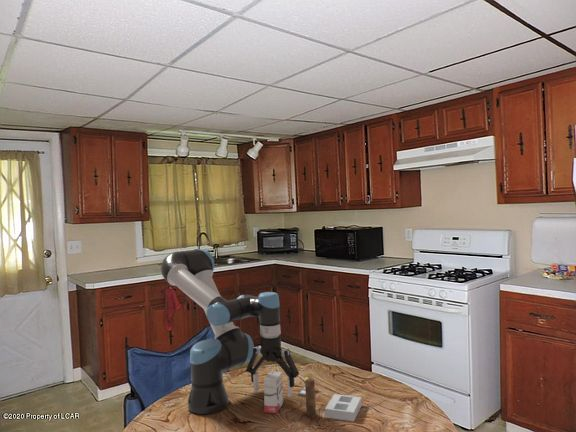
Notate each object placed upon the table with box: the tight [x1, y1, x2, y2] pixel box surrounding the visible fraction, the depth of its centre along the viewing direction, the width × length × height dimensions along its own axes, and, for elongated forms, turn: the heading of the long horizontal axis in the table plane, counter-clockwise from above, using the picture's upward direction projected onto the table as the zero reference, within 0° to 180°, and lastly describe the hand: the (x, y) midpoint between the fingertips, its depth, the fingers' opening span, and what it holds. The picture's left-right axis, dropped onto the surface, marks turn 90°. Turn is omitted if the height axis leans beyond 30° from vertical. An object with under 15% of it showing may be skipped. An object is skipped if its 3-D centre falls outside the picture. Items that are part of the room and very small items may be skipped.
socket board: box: [324, 393, 363, 422], centre depth 146 cm, size 10×12×3 cm
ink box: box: [263, 370, 284, 414], centre depth 151 cm, size 9×5×12 cm, turn 165°
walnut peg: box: [304, 378, 317, 419], centre depth 144 cm, size 3×3×12 cm
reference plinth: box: [297, 376, 310, 397], centre depth 164 cm, size 4×8×5 cm, turn 158°
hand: (273, 393), depth 151 cm, fingers open, 13 cm apart
